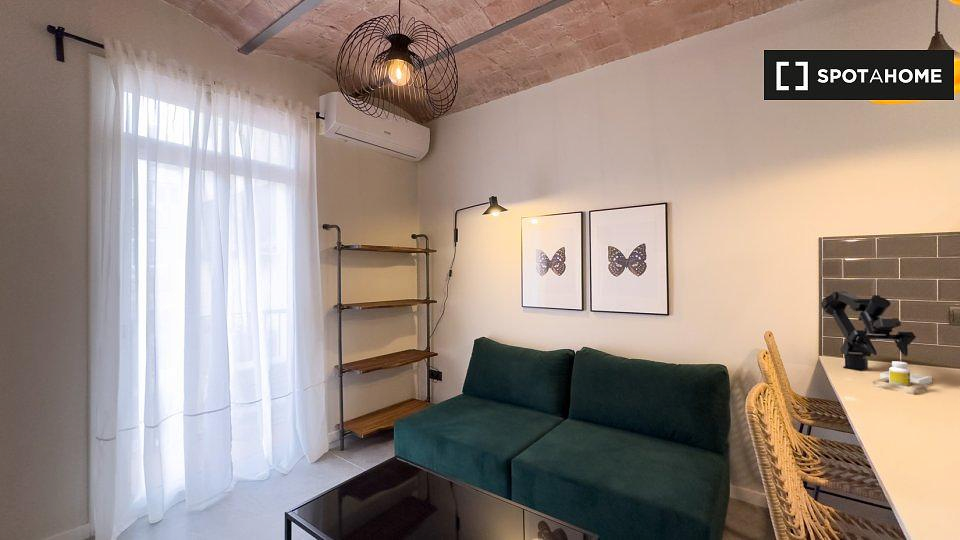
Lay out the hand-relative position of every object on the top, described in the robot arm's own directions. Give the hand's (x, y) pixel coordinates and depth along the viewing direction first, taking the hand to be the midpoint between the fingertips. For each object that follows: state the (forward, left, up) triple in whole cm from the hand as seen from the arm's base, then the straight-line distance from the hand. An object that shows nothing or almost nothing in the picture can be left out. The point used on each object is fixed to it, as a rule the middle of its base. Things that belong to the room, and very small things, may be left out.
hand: (890, 355), depth 151 cm
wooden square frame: (+3, -3, -11) cm, 12 cm away
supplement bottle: (+3, -3, -12) cm, 13 cm away
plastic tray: (0, +11, -11) cm, 16 cm away
